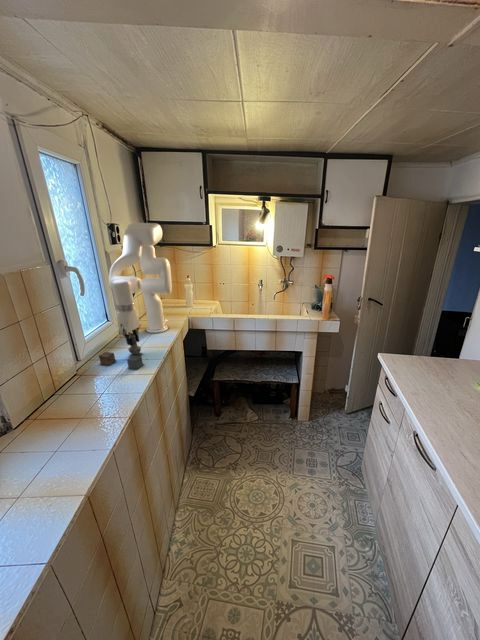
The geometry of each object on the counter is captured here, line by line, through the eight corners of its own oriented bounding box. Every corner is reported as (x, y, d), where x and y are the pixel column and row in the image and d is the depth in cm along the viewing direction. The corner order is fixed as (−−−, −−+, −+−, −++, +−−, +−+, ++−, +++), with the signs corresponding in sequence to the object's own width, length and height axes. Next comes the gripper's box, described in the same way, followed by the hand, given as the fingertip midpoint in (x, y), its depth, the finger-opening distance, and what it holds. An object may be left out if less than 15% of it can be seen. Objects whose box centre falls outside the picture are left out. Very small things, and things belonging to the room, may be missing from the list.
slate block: (134, 363, 133) (133, 355, 131) (143, 365, 132) (141, 356, 130) (128, 368, 129) (126, 359, 127) (137, 369, 128) (135, 360, 126)
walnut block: (107, 360, 136) (105, 351, 134) (115, 361, 135) (113, 352, 133) (100, 364, 132) (98, 355, 130) (109, 365, 131) (106, 356, 129)
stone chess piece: (137, 358, 138) (133, 335, 133) (126, 356, 139) (121, 334, 134) (144, 352, 143) (140, 331, 138) (134, 351, 144) (129, 330, 139)
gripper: (130, 301, 138) (137, 336, 146) (106, 311, 124) (115, 349, 132) (144, 302, 137) (150, 337, 145) (120, 313, 122) (129, 351, 130)
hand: (133, 342), depth 138 cm, fingers closed on stone chess piece, 3 cm apart
